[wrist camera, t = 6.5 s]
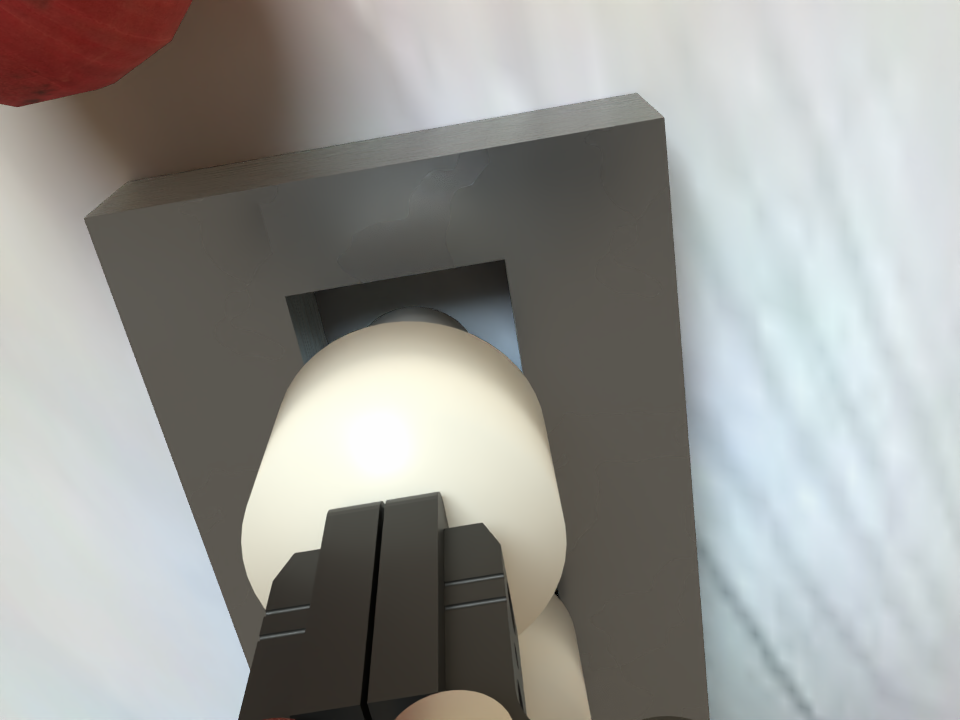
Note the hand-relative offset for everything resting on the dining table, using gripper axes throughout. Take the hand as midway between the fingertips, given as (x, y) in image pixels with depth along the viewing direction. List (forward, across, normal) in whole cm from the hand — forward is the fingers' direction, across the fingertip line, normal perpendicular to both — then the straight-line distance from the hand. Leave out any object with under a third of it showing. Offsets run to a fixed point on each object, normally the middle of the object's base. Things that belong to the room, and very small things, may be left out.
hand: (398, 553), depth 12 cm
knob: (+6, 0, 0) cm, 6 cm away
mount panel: (+8, 0, +6) cm, 10 cm away
